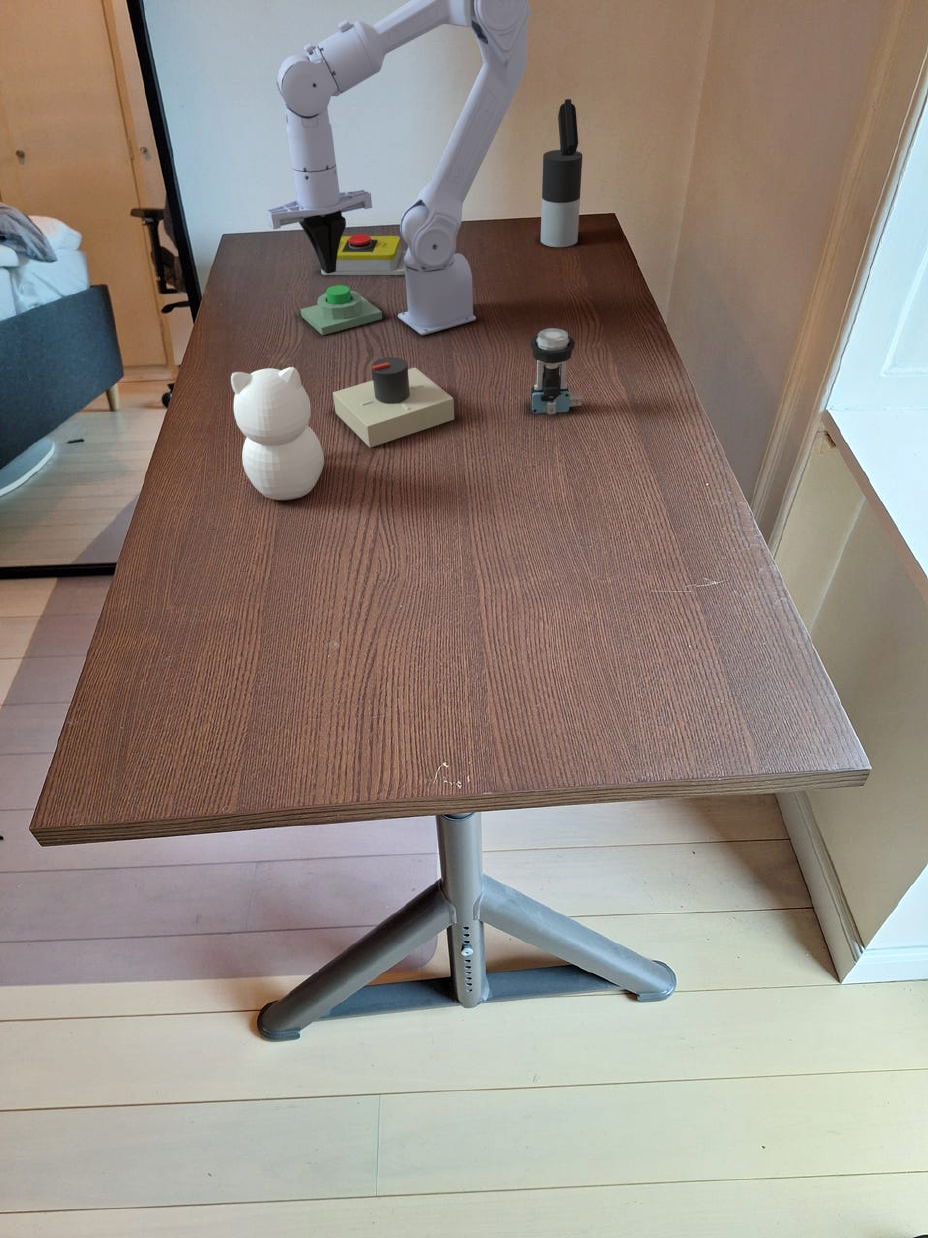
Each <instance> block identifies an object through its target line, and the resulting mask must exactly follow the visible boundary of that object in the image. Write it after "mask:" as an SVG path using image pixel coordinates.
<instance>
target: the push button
mask: <svg viewBox="0 0 928 1238" xmlns="http://www.w3.org/2000/svg"><path fill="white" fill-rule="evenodd" d="M575 347H576V342H575V340H574V338H573V337H571V336H570V335H568V332H567V331H566V330H564V329H561V328H553V327H550V328H545V329H542V330H540V331H539V332H538V334H537V335H536V336H534V337H532V338H531V340H530V348H531V350H532V357H533V358H534V359H535V360H537V363H536V383H535V384H534V386H531V388H530V406H531V411H532V414H547V415H555V414H556V413H567V412H569V411H570V407H572V408H573V407H576V406H577V407H578V406H579V407H580V406H582V402H581V401H574V400H582V399H583V397H582V395H572V394H570V390H569V386H568V383H567V382H566V379H567V378H566V376H567V361H568V360H570V359H571V358H572V353H573V351H574V349H575Z"/></svg>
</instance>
